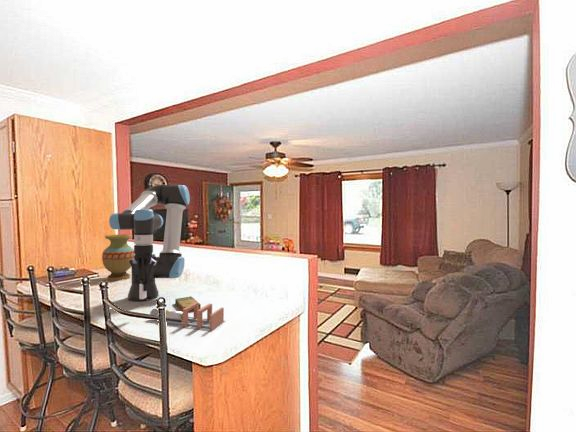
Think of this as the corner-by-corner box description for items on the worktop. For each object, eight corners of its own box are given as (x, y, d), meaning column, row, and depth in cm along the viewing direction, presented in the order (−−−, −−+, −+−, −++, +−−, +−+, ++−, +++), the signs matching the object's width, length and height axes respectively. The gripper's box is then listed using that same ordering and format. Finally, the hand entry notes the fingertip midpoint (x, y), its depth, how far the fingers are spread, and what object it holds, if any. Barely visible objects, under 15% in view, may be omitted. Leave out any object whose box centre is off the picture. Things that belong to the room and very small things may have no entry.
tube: (149, 319, 129) (149, 310, 129) (156, 316, 133) (156, 307, 133) (182, 323, 125) (182, 314, 125) (188, 320, 129) (188, 311, 129)
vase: (116, 282, 197) (116, 237, 196) (95, 280, 204) (95, 235, 203) (141, 276, 215) (141, 234, 215) (120, 274, 222) (120, 233, 222)
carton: (182, 316, 138) (182, 306, 138) (174, 306, 152) (174, 298, 152) (200, 312, 143) (200, 303, 143) (191, 303, 156) (191, 295, 156)
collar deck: (154, 327, 124) (154, 307, 124) (172, 317, 136) (172, 299, 136) (211, 334, 118) (211, 313, 117) (225, 323, 129) (225, 304, 129)
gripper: (124, 244, 130) (123, 299, 130) (150, 245, 127) (149, 301, 127) (137, 243, 137) (136, 295, 137) (162, 244, 134) (161, 297, 134)
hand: (143, 298), depth 132 cm, fingers closed
